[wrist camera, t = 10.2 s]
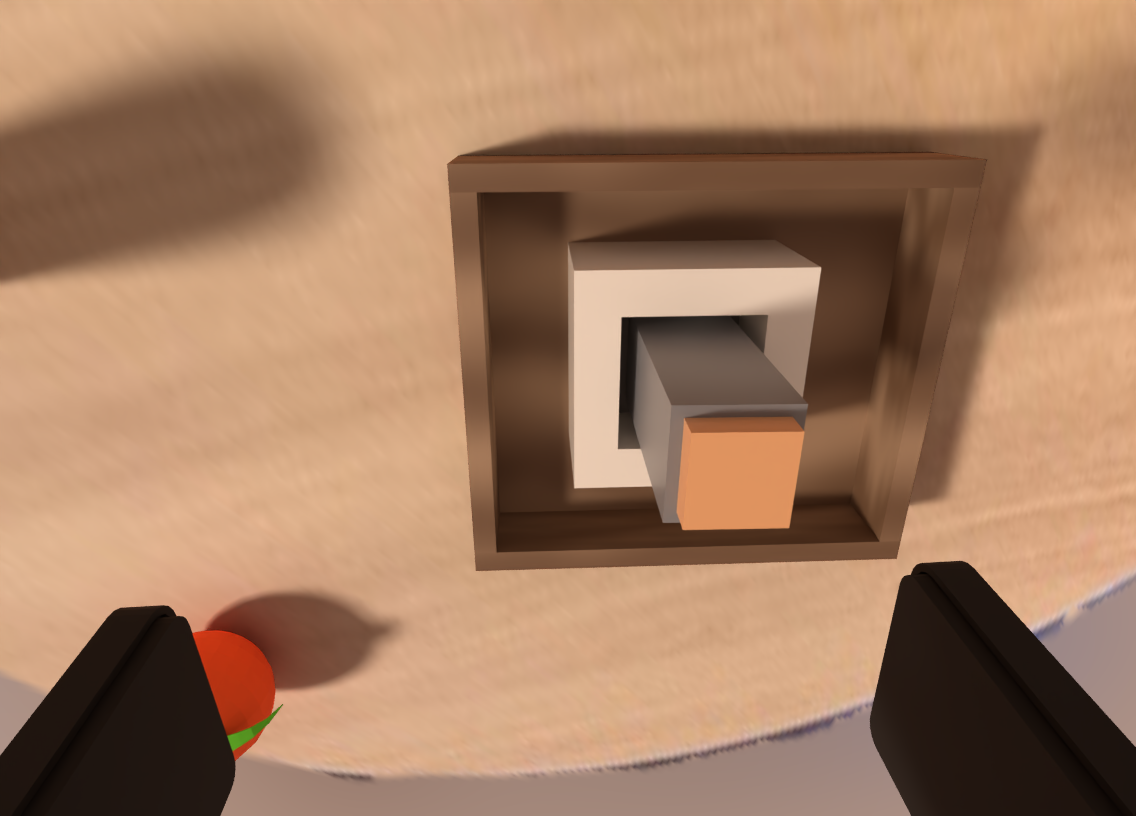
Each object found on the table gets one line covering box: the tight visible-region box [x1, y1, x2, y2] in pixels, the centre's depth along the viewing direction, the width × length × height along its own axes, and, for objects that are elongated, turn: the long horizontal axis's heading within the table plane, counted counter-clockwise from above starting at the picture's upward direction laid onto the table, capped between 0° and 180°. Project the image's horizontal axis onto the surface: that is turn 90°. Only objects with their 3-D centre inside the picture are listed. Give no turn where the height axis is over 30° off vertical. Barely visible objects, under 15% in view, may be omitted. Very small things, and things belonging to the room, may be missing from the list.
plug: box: [626, 315, 808, 530], centre depth 25 cm, size 4×4×11 cm
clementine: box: [192, 630, 283, 761], centre depth 36 cm, size 8×7×7 cm
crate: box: [447, 152, 987, 571], centre depth 31 cm, size 18×20×4 cm
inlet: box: [568, 240, 821, 488], centre depth 29 cm, size 9×9×5 cm
